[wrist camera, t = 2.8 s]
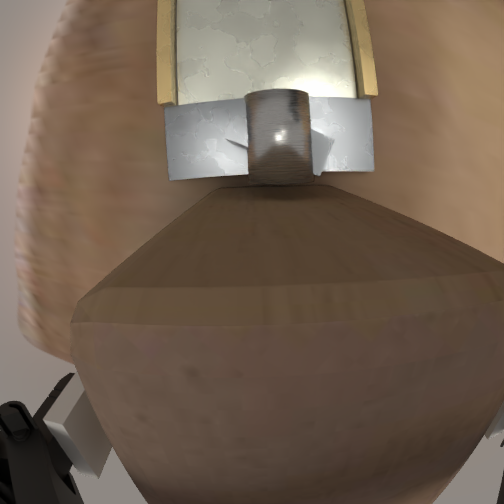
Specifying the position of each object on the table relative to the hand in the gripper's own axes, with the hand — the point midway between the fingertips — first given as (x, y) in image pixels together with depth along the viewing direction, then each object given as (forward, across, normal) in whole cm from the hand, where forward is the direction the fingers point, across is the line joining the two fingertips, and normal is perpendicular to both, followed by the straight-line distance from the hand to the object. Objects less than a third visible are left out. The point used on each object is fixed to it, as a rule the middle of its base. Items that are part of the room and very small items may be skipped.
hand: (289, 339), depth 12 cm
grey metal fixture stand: (+12, 0, +17) cm, 21 cm away
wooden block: (+13, 0, 0) cm, 13 cm away
